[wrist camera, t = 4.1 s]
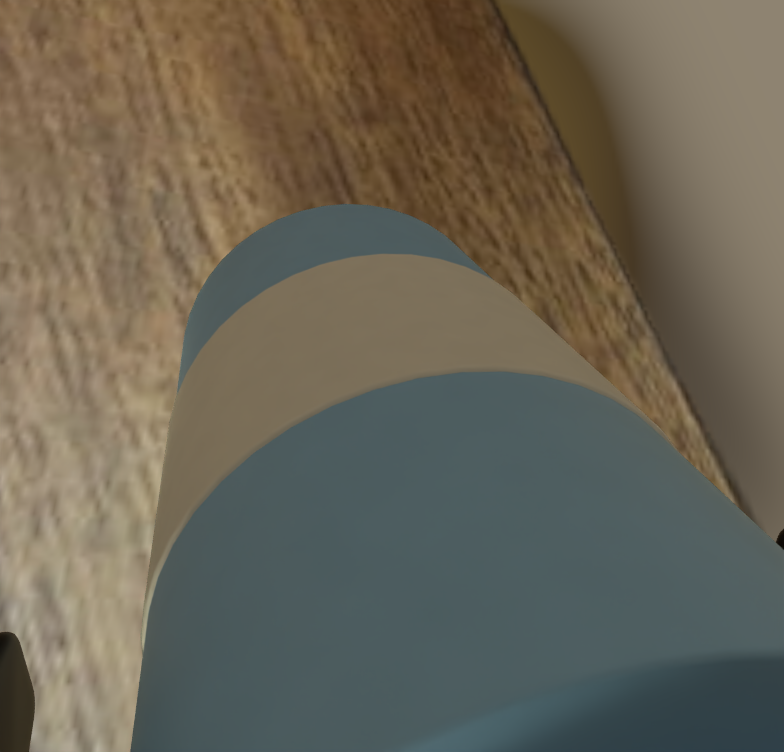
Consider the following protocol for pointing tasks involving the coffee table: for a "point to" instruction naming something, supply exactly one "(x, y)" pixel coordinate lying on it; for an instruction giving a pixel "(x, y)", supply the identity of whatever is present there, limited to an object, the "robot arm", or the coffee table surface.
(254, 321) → the bottle
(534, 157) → the coffee table surface
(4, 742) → the robot arm
